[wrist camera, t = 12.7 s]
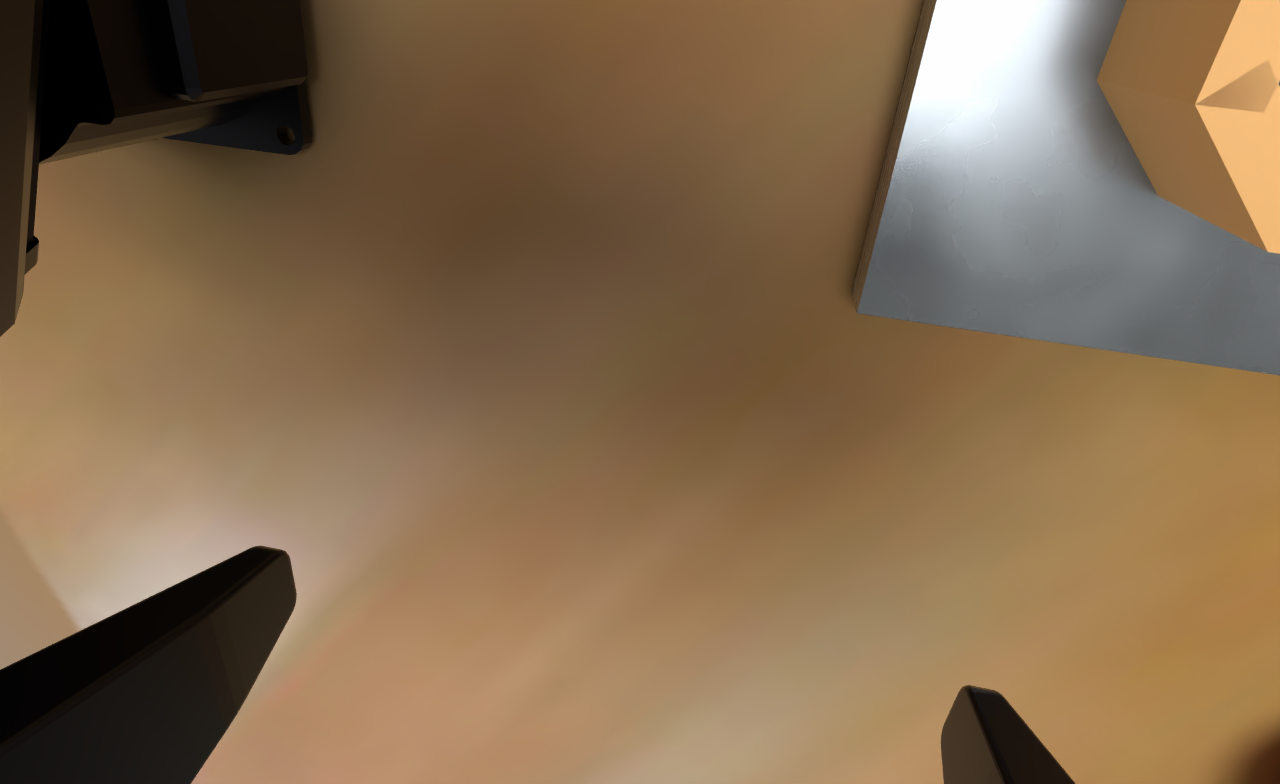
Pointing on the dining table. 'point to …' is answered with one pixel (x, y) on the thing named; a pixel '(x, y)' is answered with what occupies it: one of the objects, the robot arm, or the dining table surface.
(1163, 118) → the collar
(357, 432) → the dining table surface
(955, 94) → the piston stand
